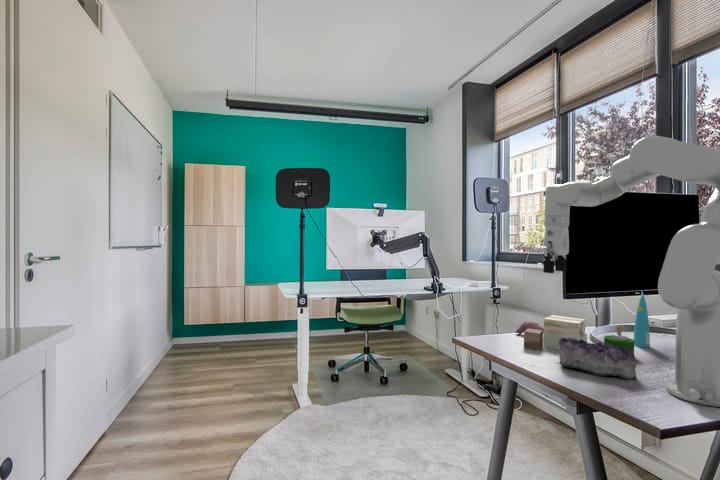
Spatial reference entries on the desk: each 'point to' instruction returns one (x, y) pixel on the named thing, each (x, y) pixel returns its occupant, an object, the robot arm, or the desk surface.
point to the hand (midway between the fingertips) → (554, 271)
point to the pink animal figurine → (529, 325)
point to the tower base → (553, 339)
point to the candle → (620, 340)
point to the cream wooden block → (564, 326)
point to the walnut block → (533, 339)
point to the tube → (642, 325)
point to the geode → (598, 358)
